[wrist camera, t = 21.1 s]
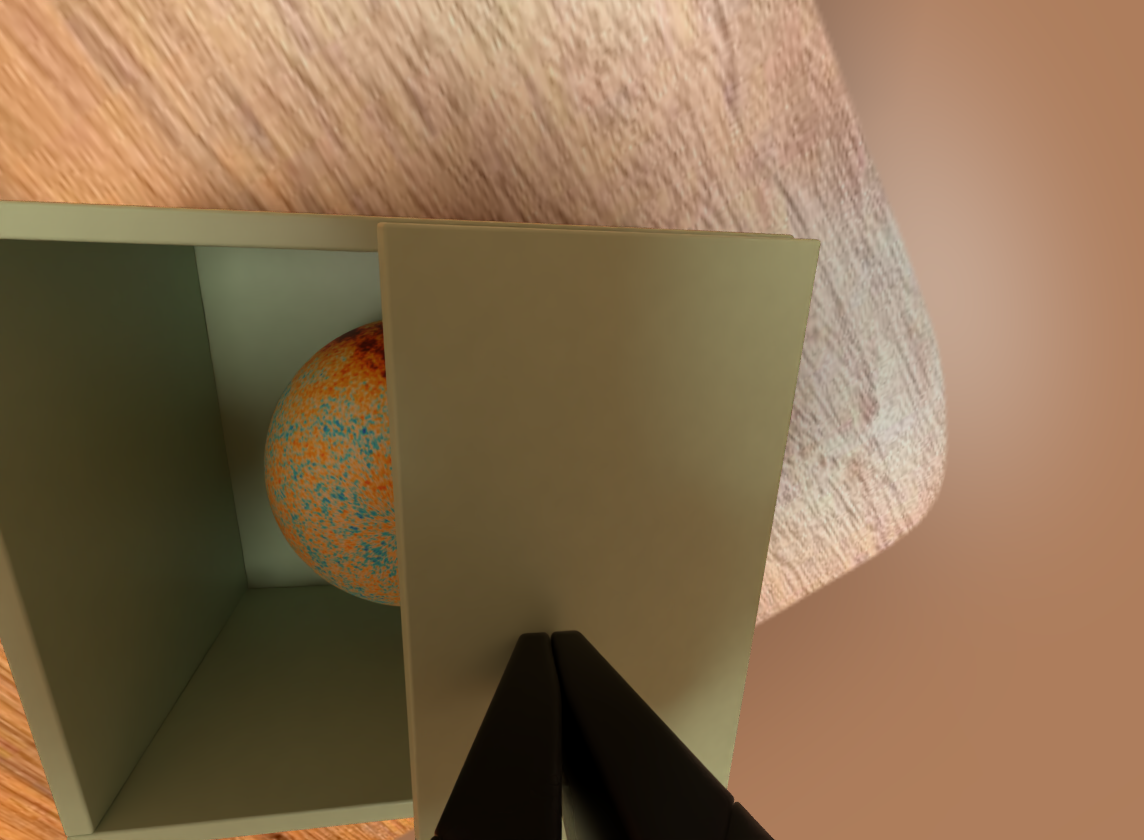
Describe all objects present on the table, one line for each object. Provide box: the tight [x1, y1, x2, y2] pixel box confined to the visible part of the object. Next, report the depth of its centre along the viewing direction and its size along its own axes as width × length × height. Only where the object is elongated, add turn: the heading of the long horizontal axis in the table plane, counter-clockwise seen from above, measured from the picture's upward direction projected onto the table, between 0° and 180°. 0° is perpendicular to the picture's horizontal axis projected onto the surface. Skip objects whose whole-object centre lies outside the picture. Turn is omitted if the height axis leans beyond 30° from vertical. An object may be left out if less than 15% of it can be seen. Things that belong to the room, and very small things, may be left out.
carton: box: [0, 200, 793, 840], centre depth 14 cm, size 13×12×8 cm
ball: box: [264, 320, 400, 606], centre depth 14 cm, size 7×7×7 cm
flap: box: [377, 222, 820, 840], centre depth 9 cm, size 6×12×1 cm, turn 177°
